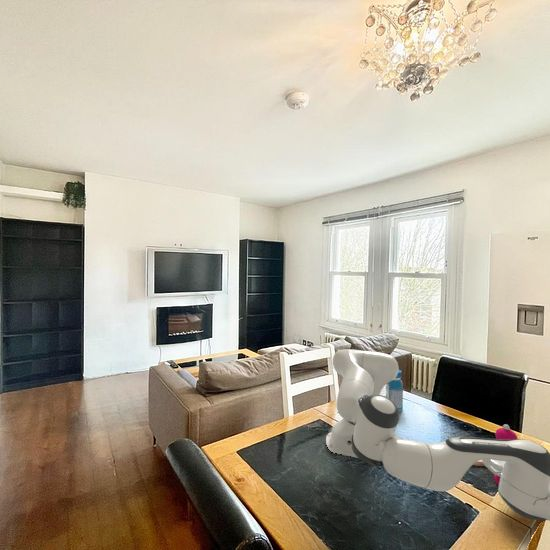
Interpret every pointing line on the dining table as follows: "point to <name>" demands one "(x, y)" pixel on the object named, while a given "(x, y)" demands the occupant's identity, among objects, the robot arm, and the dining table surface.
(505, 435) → the pepper mill
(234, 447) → the dining table surface
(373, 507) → the dining table surface
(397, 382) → the beverage bottle
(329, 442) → the robot arm
